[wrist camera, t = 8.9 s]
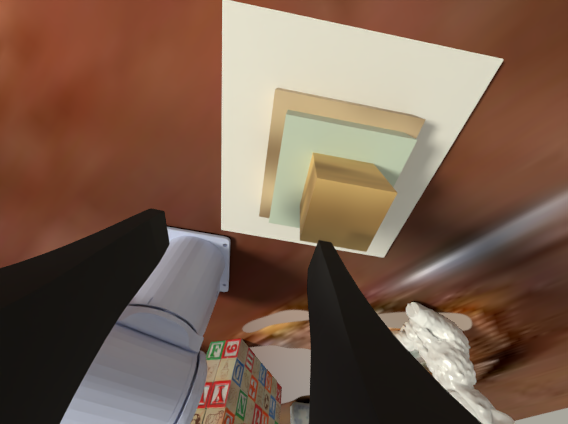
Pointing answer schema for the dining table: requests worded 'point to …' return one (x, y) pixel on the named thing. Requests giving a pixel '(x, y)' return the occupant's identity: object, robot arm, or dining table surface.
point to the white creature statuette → (447, 359)
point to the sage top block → (335, 142)
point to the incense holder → (299, 413)
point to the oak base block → (327, 109)
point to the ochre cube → (343, 202)
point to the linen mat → (342, 86)
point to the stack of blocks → (237, 388)
